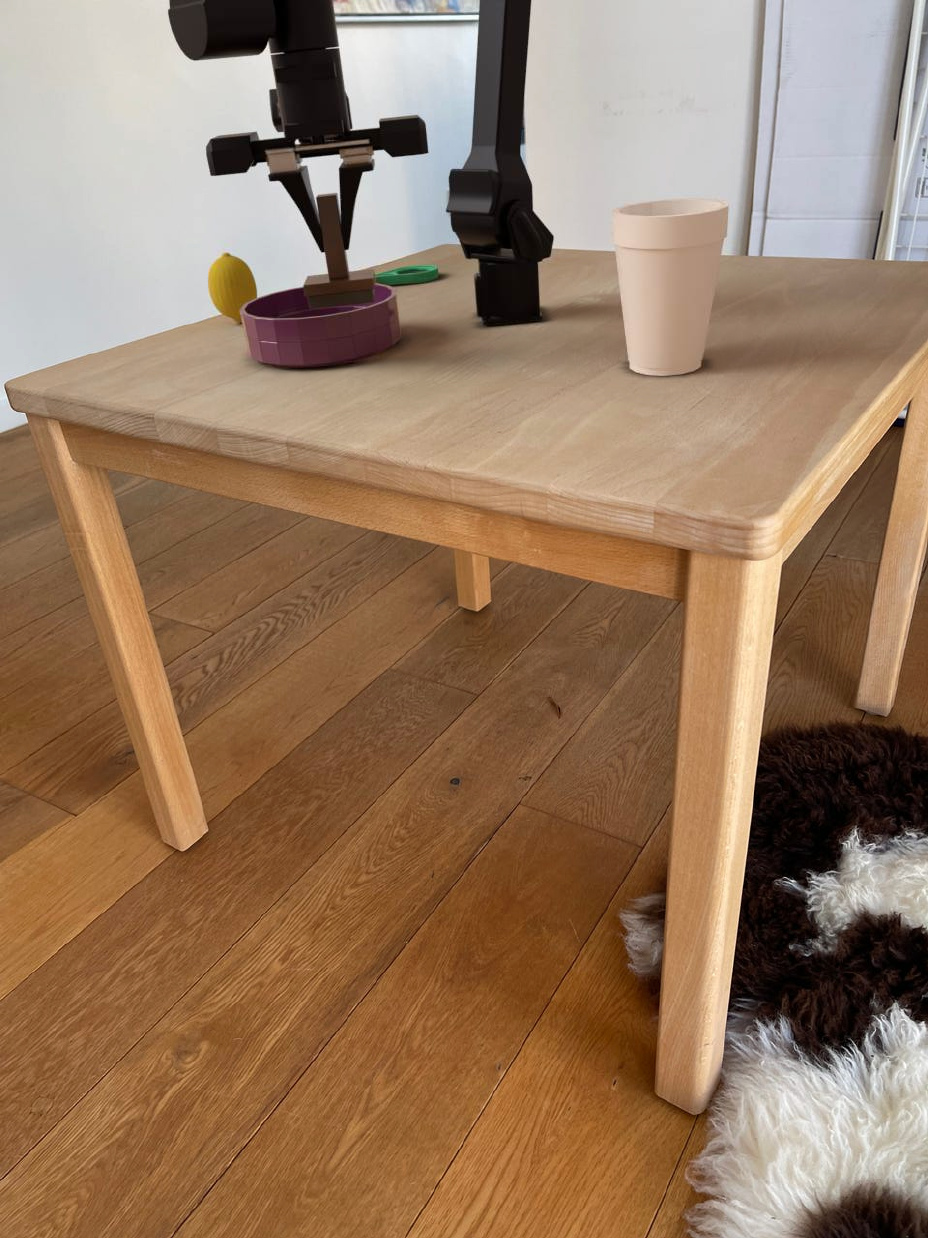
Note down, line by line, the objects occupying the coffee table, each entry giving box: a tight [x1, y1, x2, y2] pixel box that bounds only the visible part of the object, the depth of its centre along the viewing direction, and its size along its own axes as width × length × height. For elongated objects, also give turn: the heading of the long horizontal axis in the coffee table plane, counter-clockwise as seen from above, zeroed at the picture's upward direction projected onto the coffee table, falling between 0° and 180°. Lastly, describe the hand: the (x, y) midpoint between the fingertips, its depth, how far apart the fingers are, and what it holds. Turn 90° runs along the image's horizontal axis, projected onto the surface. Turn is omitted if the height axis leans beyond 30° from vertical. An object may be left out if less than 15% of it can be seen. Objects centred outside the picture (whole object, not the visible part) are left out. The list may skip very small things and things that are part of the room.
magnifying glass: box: [375, 264, 440, 286], centre depth 123 cm, size 15×6×2 cm, turn 118°
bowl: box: [240, 283, 402, 369], centre depth 96 cm, size 16×16×5 cm
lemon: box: [207, 252, 258, 324], centre depth 109 cm, size 6×6×8 cm
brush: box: [302, 192, 376, 309], centre depth 84 cm, size 6×4×9 cm
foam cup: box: [611, 198, 730, 377], centre depth 79 cm, size 10×9×13 cm
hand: (335, 250), depth 85 cm, fingers closed on brush, 2 cm apart
